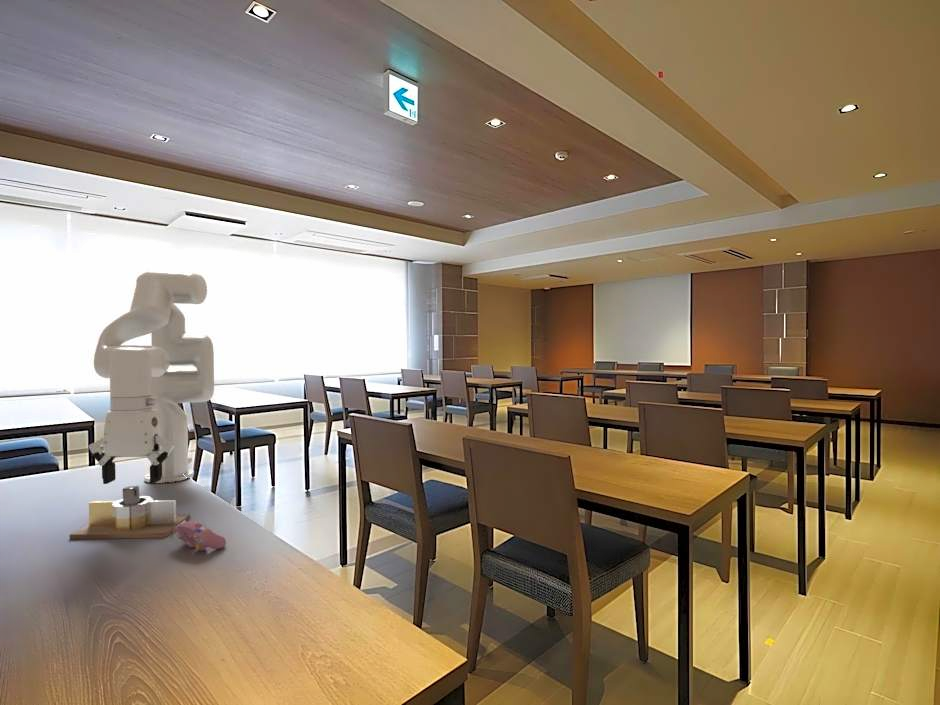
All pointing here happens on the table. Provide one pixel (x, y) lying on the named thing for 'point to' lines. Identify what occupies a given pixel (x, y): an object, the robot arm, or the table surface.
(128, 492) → the hinge pin
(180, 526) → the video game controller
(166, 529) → the mounting board
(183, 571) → the table surface
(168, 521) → the hinge
